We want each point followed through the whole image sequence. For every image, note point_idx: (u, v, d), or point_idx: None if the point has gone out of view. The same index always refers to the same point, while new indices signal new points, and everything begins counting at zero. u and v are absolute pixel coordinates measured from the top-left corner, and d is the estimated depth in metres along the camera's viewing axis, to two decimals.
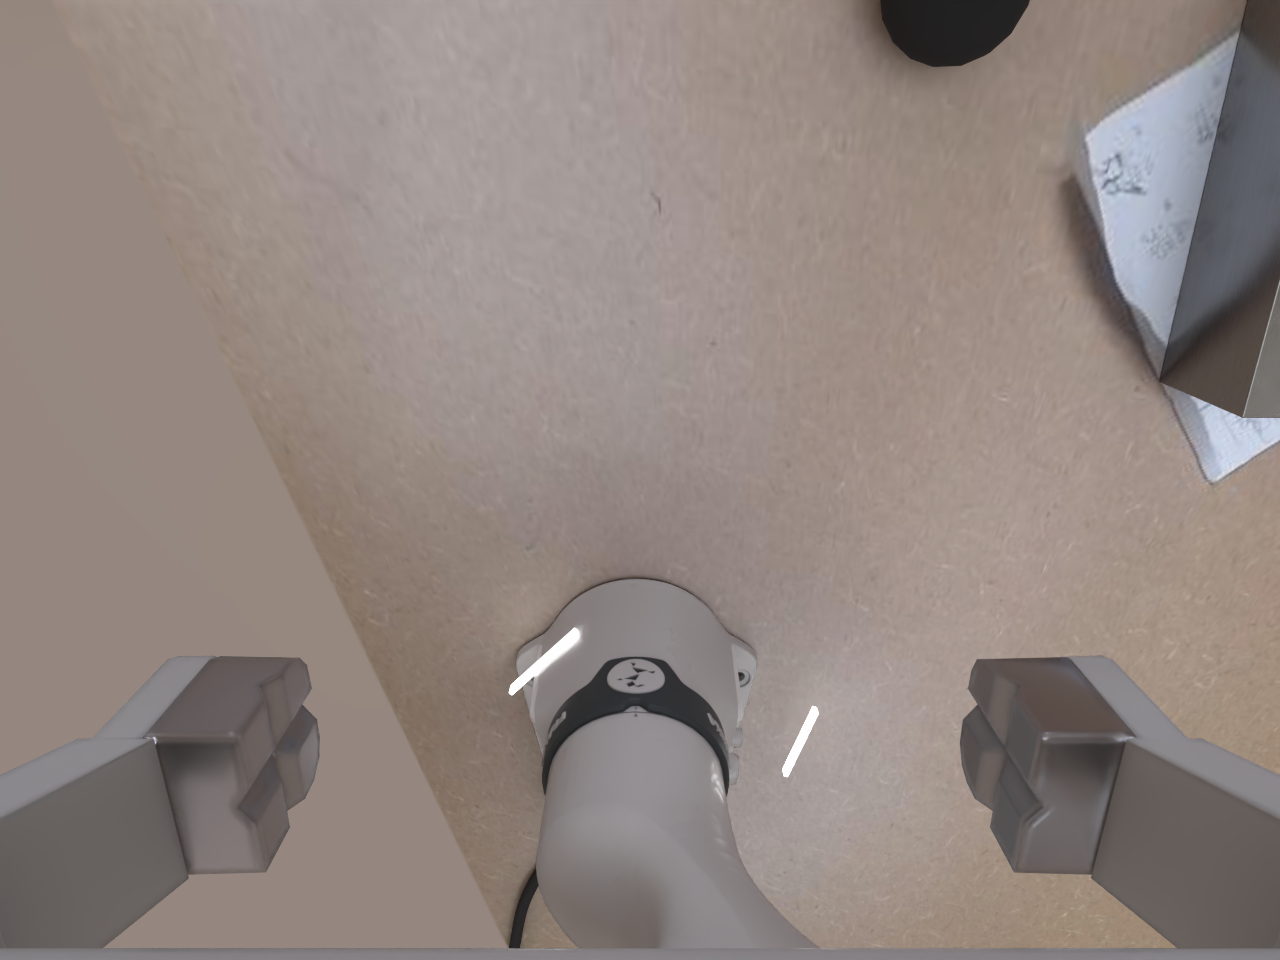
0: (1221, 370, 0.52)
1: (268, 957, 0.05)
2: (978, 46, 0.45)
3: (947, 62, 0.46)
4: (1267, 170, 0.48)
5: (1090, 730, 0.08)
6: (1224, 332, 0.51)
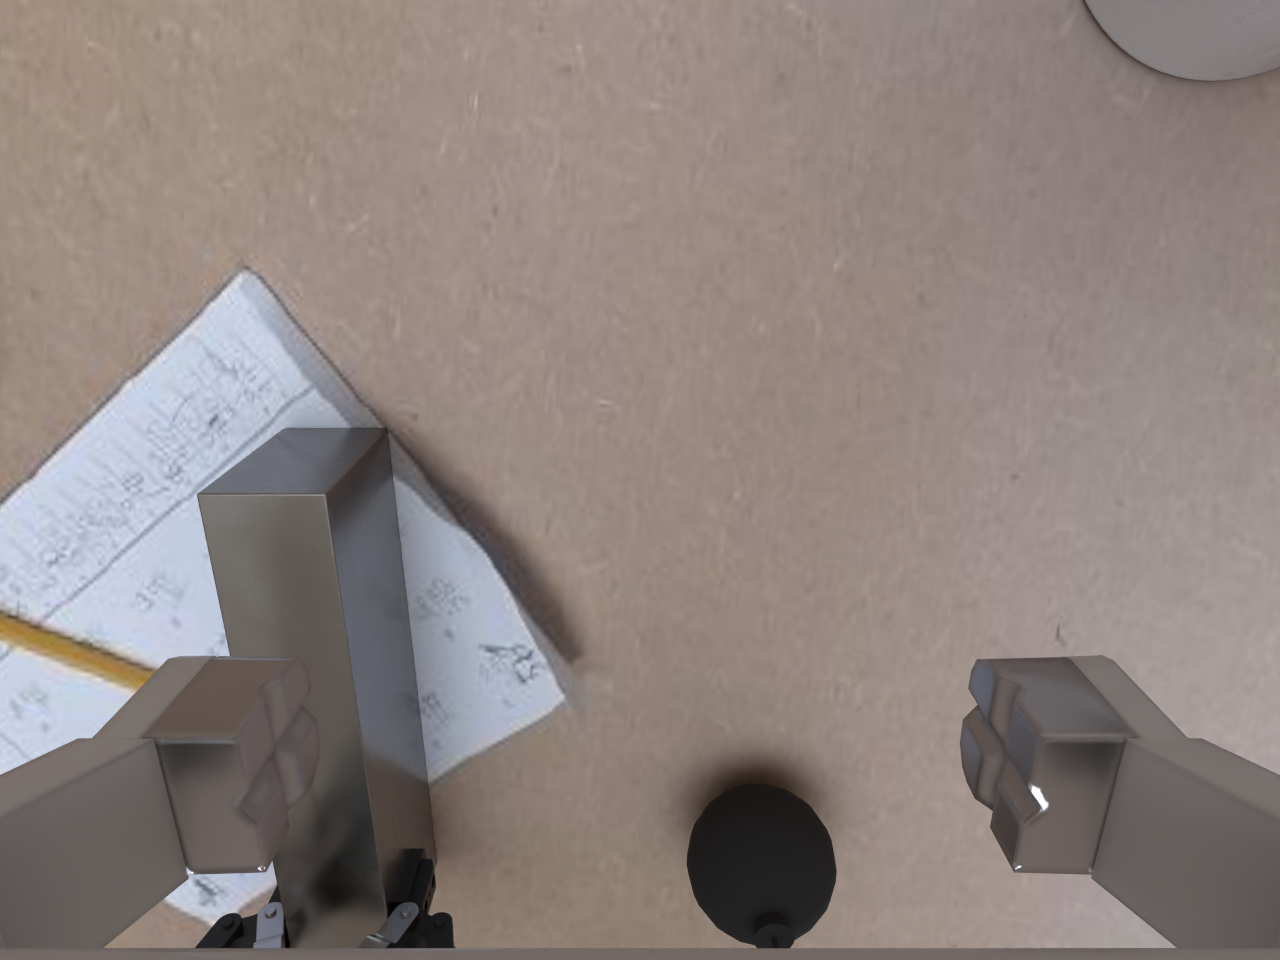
0: (354, 516, 0.36)
1: (268, 957, 0.05)
2: (751, 847, 0.42)
3: (771, 818, 0.43)
4: (387, 733, 0.40)
5: (1090, 730, 0.08)
6: (365, 558, 0.37)
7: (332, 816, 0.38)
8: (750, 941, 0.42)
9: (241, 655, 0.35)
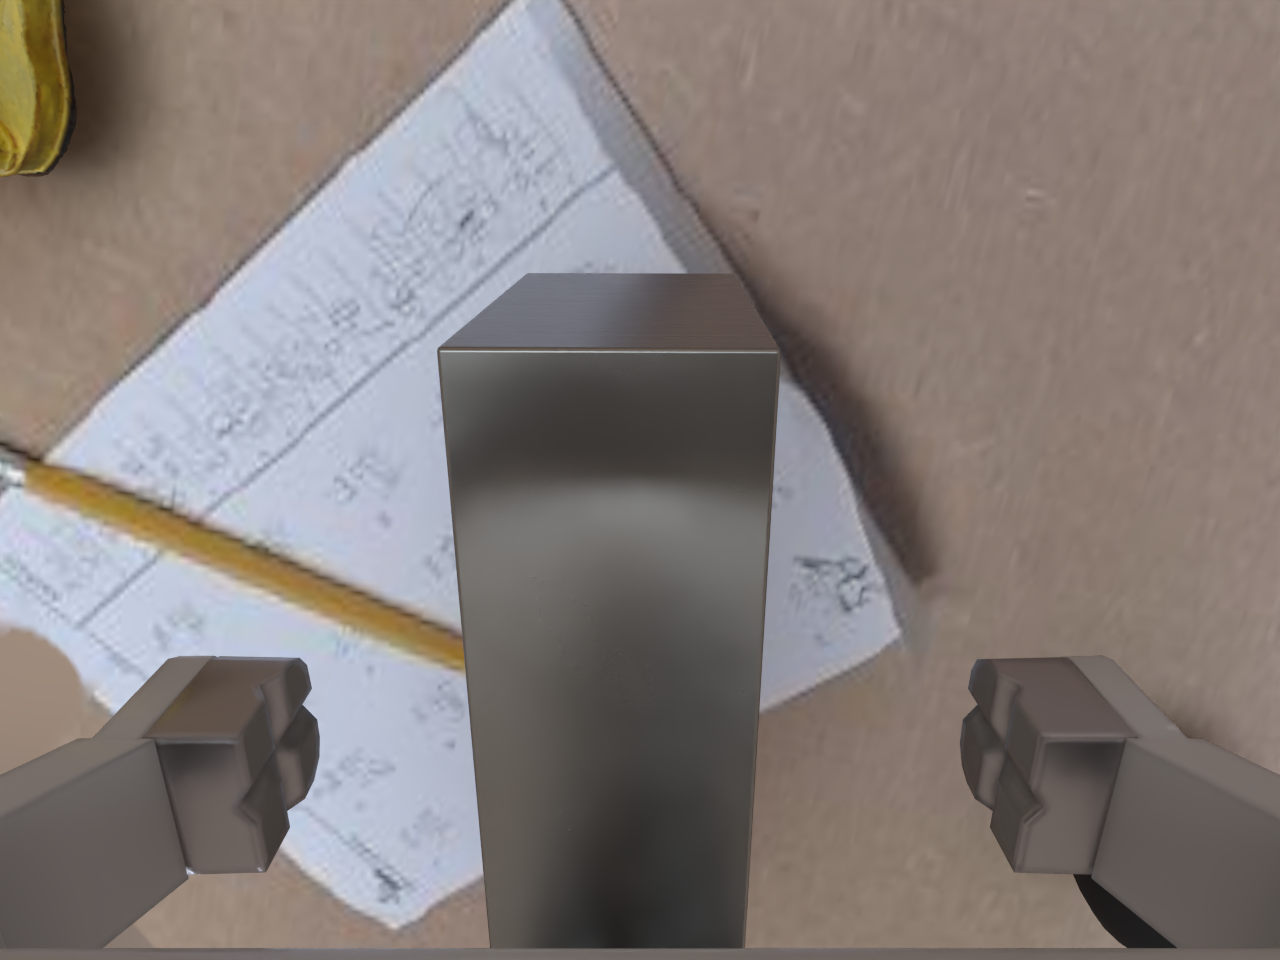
0: None
1: (268, 957, 0.05)
2: None
3: None
4: None
5: (1090, 730, 0.08)
6: None
7: None
8: None
9: (500, 756, 0.15)
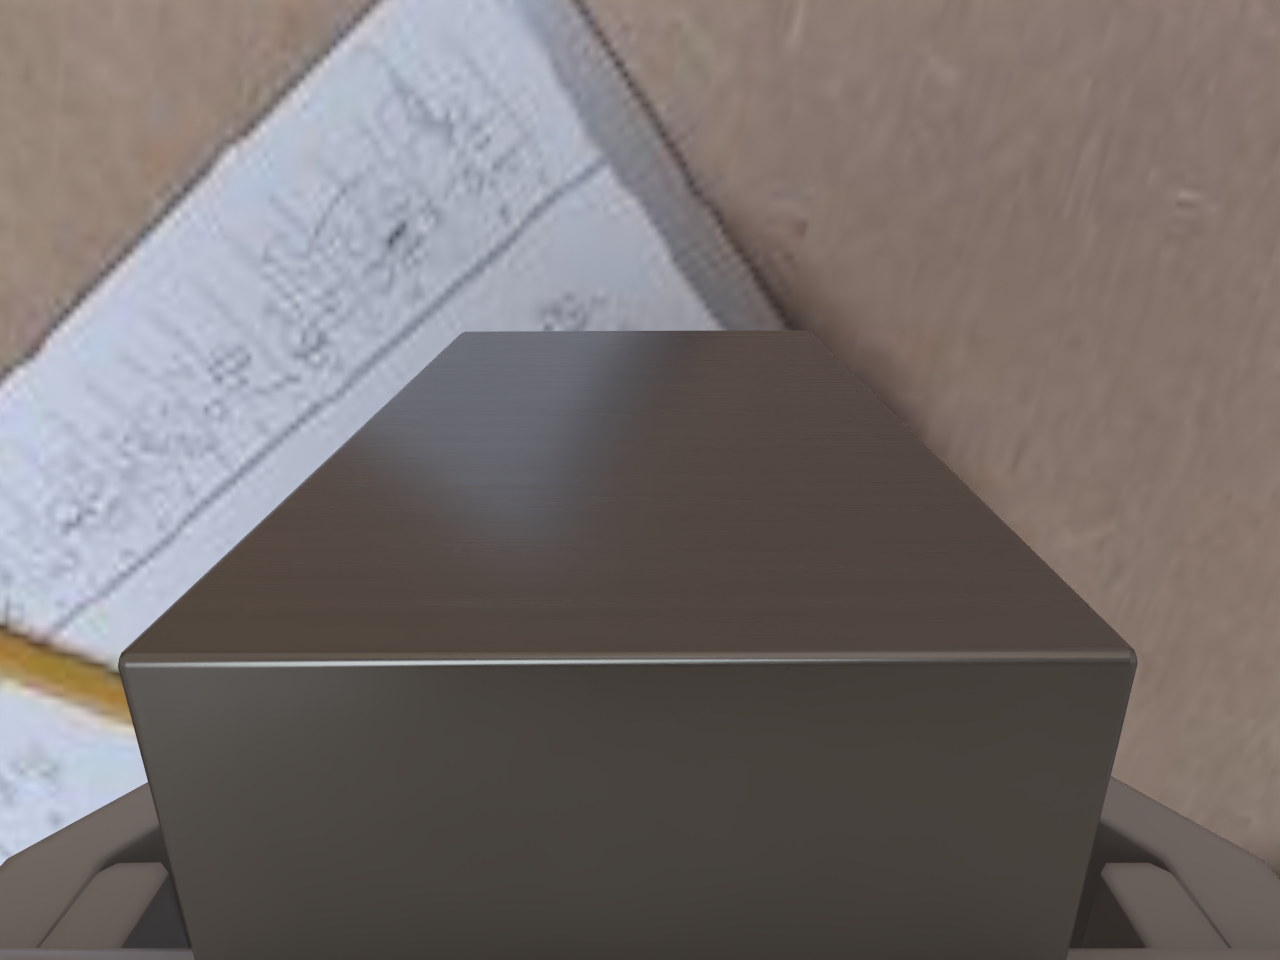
0: None
1: None
2: None
3: None
4: None
5: None
6: None
7: None
8: None
9: None
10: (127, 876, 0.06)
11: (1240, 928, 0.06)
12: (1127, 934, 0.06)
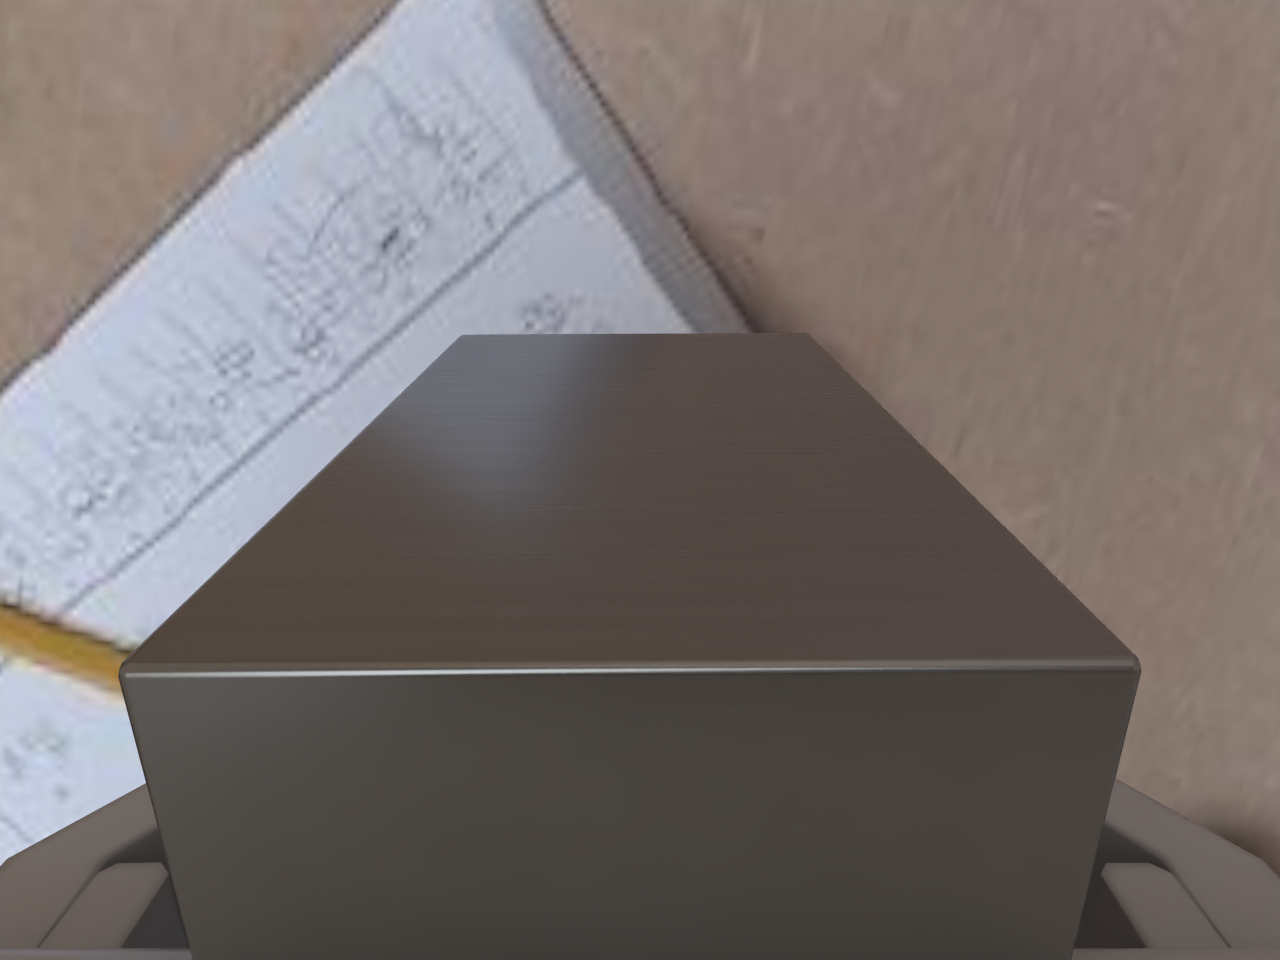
0: None
1: None
2: None
3: None
4: None
5: None
6: None
7: None
8: None
9: None
10: (130, 874, 0.07)
11: (1240, 928, 0.06)
12: (1127, 934, 0.06)
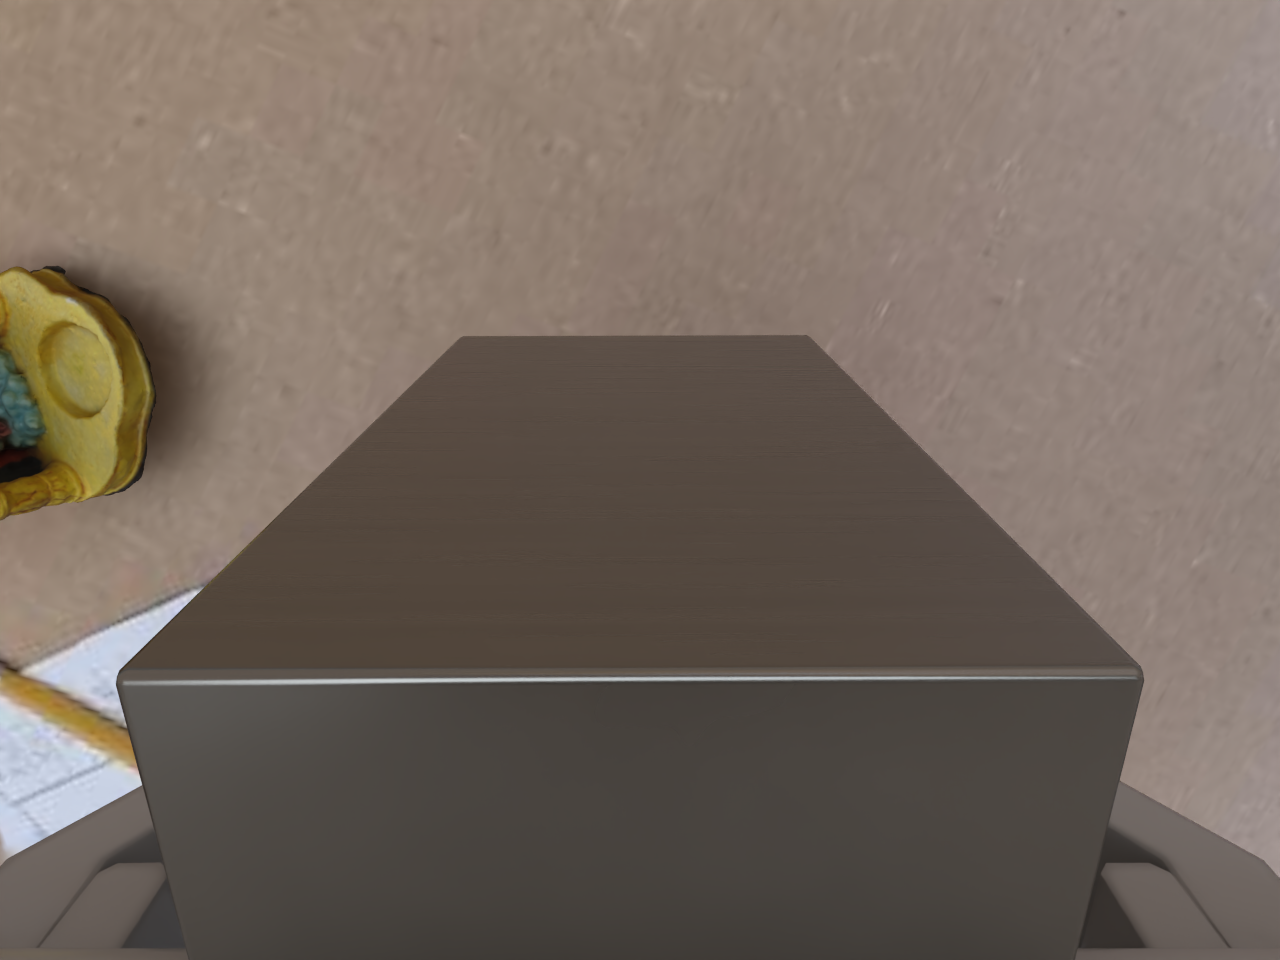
0: None
1: None
2: None
3: None
4: None
5: None
6: None
7: None
8: None
9: None
10: (129, 876, 0.06)
11: (1239, 927, 0.06)
12: (1127, 934, 0.06)
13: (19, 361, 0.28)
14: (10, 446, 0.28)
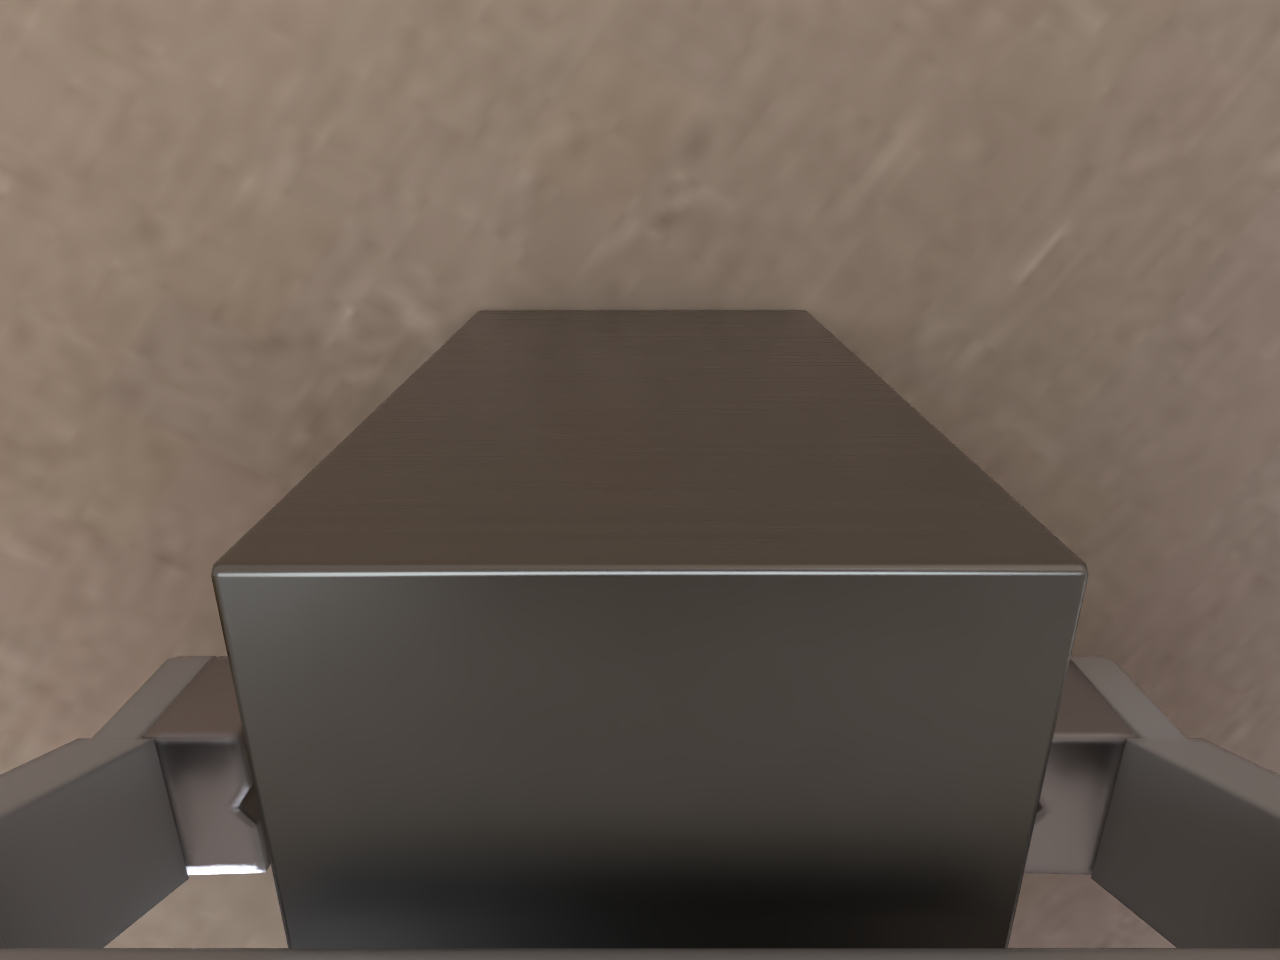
0: None
1: (268, 957, 0.05)
2: None
3: None
4: None
5: (1090, 730, 0.08)
6: None
7: None
8: None
9: None
10: None
11: None
12: None
13: None
14: None
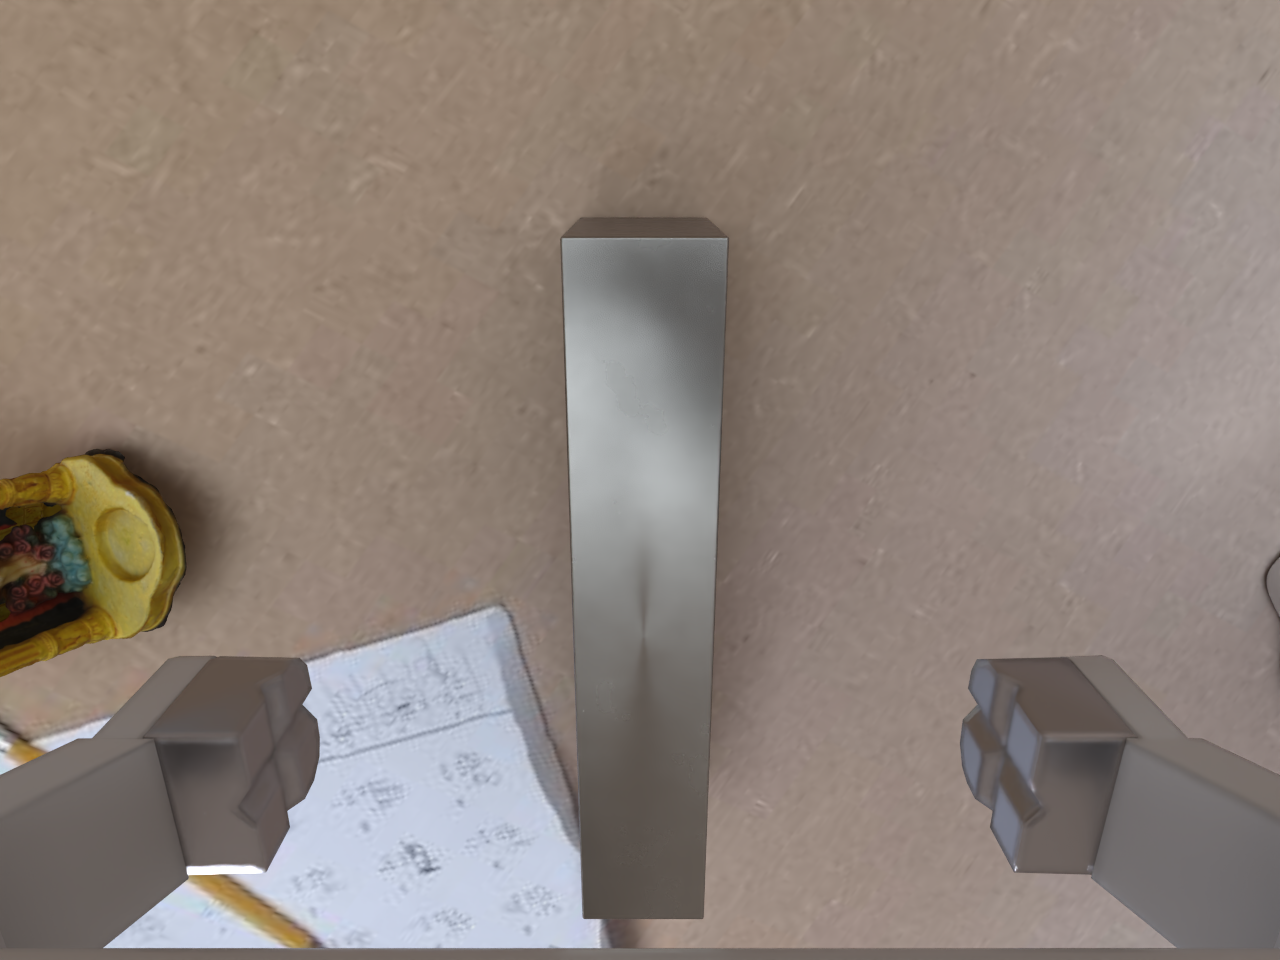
0: None
1: (268, 957, 0.05)
2: None
3: None
4: None
5: (1090, 730, 0.08)
6: None
7: (661, 687, 0.31)
8: None
9: (583, 467, 0.27)
10: None
11: None
12: None
13: (78, 526, 0.35)
14: (61, 591, 0.35)
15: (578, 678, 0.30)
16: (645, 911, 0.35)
